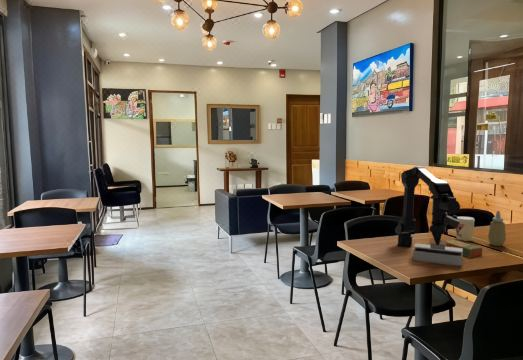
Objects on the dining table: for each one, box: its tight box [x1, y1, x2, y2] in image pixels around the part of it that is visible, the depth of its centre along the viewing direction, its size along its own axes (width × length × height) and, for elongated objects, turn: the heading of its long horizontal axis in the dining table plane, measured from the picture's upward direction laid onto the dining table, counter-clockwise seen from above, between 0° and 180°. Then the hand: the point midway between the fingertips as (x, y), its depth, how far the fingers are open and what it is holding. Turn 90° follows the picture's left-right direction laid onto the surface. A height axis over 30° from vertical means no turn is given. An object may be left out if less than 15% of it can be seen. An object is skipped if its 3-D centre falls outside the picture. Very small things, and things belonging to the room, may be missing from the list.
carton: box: [445, 239, 483, 258], centre depth 192 cm, size 8×16×4 cm, turn 23°
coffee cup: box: [455, 216, 476, 242], centre depth 216 cm, size 9×9×12 cm
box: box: [412, 248, 463, 267], centre depth 180 cm, size 20×12×4 cm, turn 63°
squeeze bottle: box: [487, 210, 507, 247], centre depth 203 cm, size 8×8×18 cm
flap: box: [413, 238, 463, 253], centre depth 179 cm, size 20×12×5 cm, turn 63°
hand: (437, 244), depth 175 cm, fingers open, 2 cm apart
